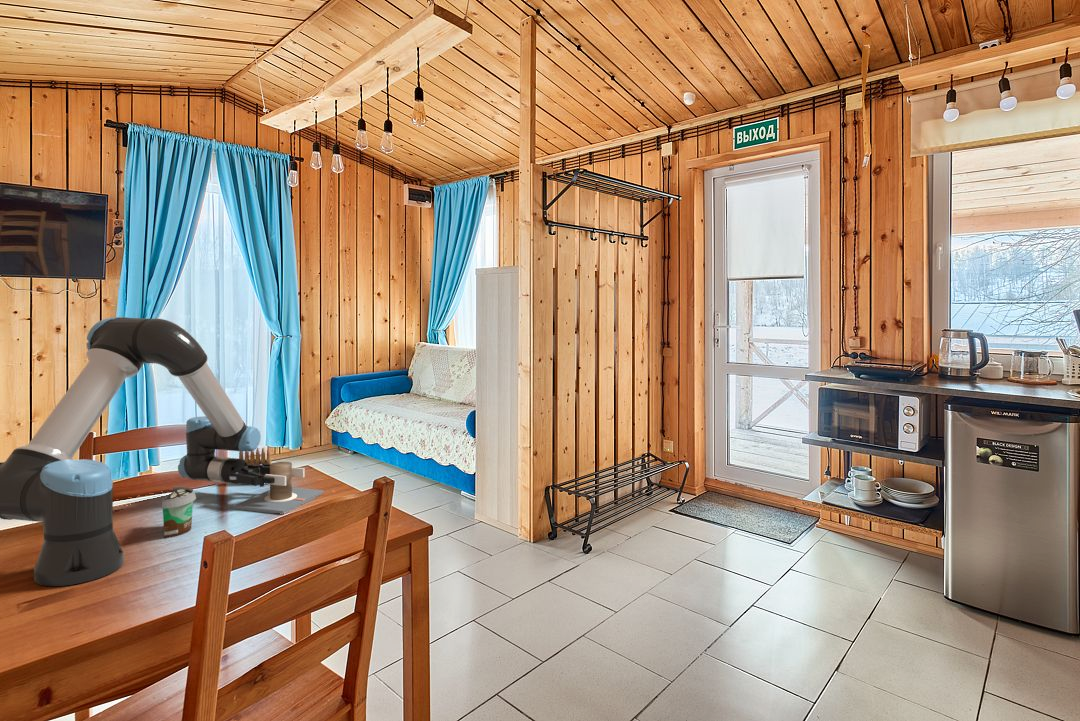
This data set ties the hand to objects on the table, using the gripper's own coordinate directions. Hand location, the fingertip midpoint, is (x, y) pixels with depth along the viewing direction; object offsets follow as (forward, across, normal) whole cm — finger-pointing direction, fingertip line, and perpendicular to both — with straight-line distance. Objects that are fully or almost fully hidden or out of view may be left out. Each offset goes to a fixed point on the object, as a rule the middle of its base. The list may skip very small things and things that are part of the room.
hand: (294, 476), depth 171 cm
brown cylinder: (-5, 0, -7) cm, 8 cm away
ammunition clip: (-24, -13, -8) cm, 28 cm away
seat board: (-5, 0, -8) cm, 9 cm away
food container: (-14, +27, -8) cm, 31 cm away
